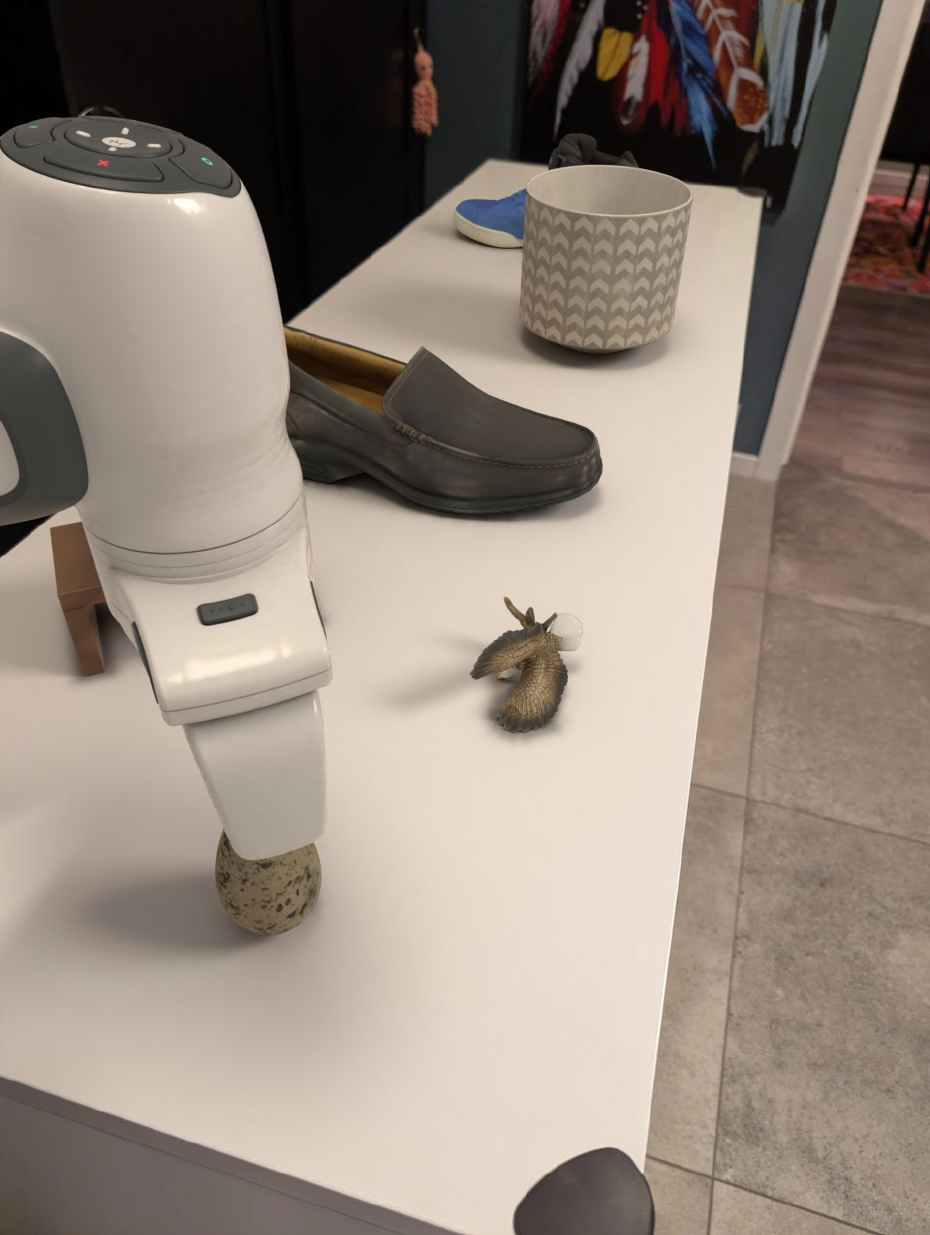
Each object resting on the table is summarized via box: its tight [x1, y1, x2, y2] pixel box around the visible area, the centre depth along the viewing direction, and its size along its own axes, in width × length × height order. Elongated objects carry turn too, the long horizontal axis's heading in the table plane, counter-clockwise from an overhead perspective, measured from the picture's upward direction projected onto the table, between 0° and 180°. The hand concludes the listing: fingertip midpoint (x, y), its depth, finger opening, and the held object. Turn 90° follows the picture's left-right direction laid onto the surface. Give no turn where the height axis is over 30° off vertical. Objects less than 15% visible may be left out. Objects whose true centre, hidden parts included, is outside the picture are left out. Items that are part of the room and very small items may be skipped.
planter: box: [519, 165, 694, 354], centre depth 115 cm, size 19×19×18 cm
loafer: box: [283, 324, 604, 516], centre depth 92 cm, size 13×36×13 cm, turn 76°
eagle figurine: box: [469, 596, 584, 734], centre depth 71 cm, size 8×7×9 cm
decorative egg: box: [214, 828, 322, 936], centre depth 55 cm, size 6×6×10 cm
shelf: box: [49, 521, 107, 677], centre depth 77 cm, size 18×9×8 cm, turn 112°
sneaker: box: [452, 132, 642, 249], centre depth 142 cm, size 12×29×16 cm, turn 71°
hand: (251, 764), depth 49 cm, fingers open, 8 cm apart
